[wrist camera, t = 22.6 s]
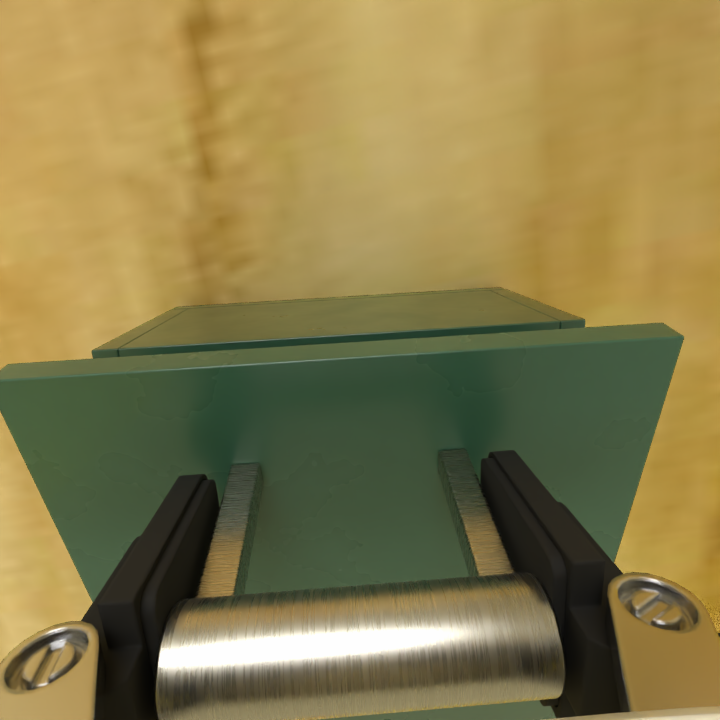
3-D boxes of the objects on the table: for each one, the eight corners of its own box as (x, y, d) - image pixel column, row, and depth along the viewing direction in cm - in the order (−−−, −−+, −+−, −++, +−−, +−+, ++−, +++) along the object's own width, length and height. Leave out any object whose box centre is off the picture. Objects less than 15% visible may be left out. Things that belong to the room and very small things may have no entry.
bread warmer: (175, 306, 22) (90, 350, 14) (501, 287, 22) (586, 319, 15) (221, 587, 26) (175, 734, 19) (493, 566, 26) (554, 701, 19)
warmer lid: (7, 363, 11) (-321, 622, 5) (662, 321, 11) (976, 521, 6) (173, 734, 18) (110, 993, 13) (555, 701, 19) (646, 937, 14)
